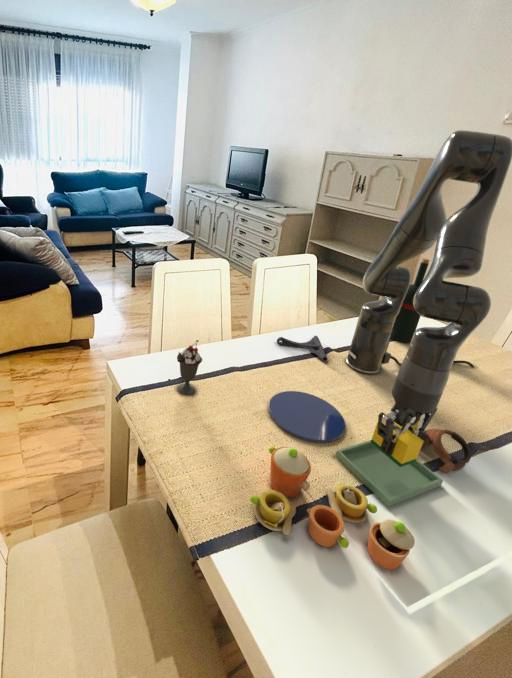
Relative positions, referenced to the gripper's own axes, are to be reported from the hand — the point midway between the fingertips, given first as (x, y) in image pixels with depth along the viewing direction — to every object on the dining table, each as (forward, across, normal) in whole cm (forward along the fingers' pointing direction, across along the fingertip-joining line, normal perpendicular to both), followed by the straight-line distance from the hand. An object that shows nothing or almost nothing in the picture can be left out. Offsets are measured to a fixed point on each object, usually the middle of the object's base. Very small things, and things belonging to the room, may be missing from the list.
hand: (394, 449), depth 80 cm
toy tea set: (+7, -21, -4) cm, 22 cm away
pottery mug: (+6, +14, 0) cm, 16 cm away
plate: (+6, -5, +19) cm, 21 cm away
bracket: (+6, +18, +48) cm, 52 cm away
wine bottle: (+6, +59, +44) cm, 74 cm away
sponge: (+1, 0, 0) cm, 1 cm away
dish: (+6, 0, 0) cm, 6 cm away
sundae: (+6, -29, +38) cm, 48 cm away
